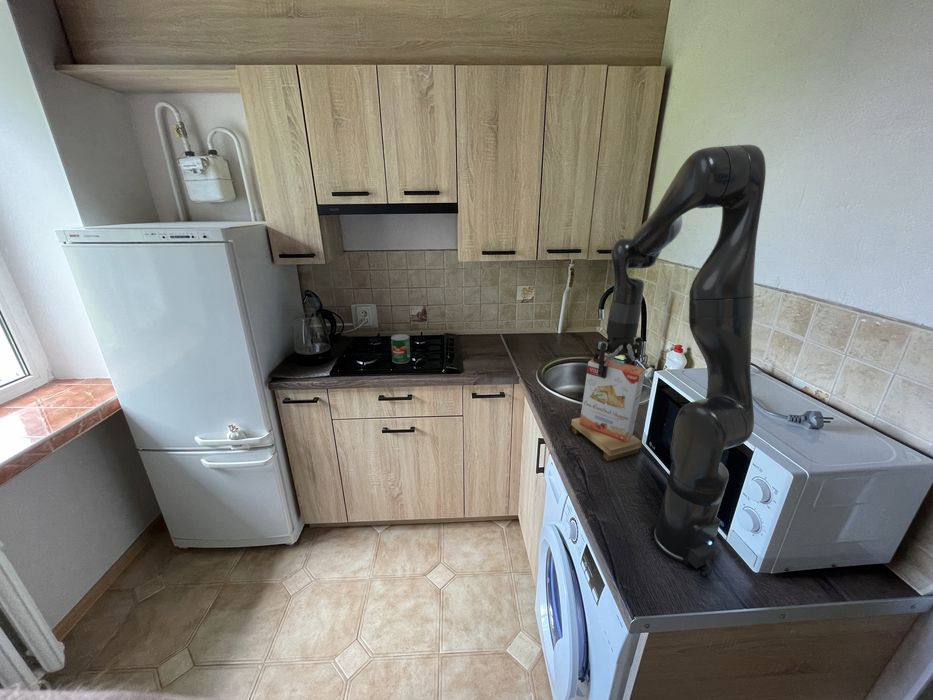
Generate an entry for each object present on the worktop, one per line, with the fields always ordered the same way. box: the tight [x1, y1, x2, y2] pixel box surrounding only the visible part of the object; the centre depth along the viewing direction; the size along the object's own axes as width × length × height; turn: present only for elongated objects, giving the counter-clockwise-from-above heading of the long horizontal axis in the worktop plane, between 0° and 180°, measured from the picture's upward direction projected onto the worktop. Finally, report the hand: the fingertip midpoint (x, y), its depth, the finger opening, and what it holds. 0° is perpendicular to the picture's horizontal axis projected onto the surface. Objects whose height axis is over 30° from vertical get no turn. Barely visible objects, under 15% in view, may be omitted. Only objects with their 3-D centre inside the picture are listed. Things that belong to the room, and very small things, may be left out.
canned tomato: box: [390, 333, 411, 365], centre depth 167 cm, size 8×8×11 cm
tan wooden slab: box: [570, 417, 643, 462], centre depth 112 cm, size 17×11×4 cm, turn 22°
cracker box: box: [579, 357, 647, 442], centre depth 107 cm, size 14×6×21 cm, turn 50°
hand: (614, 374), depth 105 cm, fingers open, 8 cm apart
